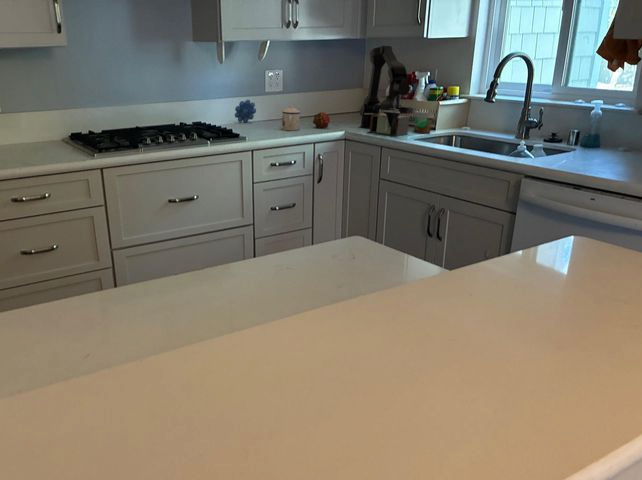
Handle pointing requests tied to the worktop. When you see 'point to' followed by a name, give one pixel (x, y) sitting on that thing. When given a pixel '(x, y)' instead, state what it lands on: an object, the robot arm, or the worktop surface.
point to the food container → (423, 122)
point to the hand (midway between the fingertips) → (390, 127)
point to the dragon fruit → (321, 120)
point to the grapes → (245, 111)
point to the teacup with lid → (290, 119)
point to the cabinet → (396, 130)
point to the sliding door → (383, 125)
